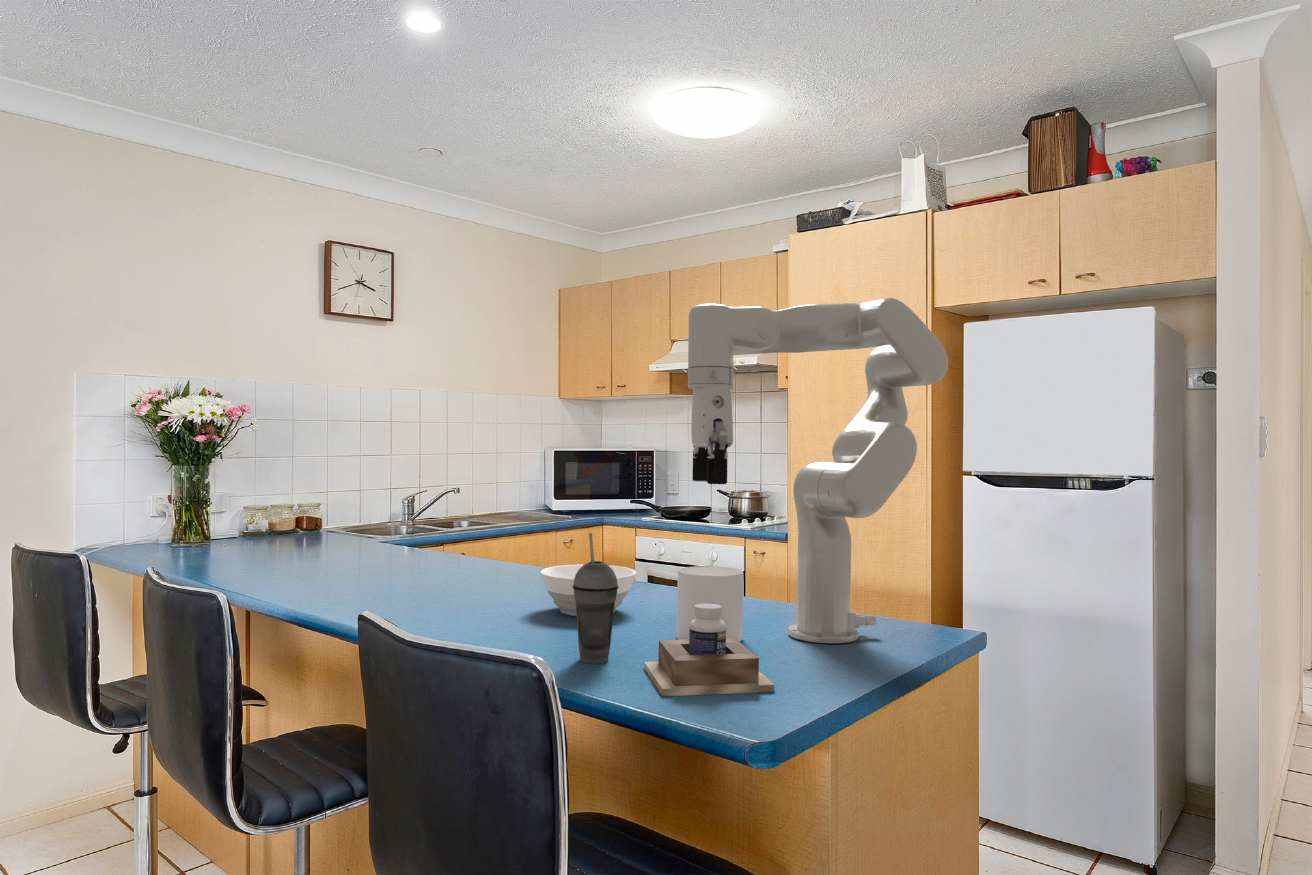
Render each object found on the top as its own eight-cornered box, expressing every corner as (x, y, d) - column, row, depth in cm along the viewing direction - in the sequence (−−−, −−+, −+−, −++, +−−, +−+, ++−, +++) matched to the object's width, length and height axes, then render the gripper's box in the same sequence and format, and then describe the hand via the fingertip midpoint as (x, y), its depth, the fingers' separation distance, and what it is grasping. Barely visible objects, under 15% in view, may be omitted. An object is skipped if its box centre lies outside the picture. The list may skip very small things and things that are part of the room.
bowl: (633, 623, 157) (634, 580, 157) (532, 621, 157) (533, 578, 158) (637, 603, 177) (637, 565, 177) (547, 601, 177) (547, 563, 177)
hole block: (744, 664, 129) (745, 636, 129) (774, 691, 115) (774, 659, 115) (644, 668, 126) (644, 638, 126) (662, 696, 112) (662, 663, 112)
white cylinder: (685, 647, 139) (686, 576, 139) (670, 631, 151) (671, 566, 151) (751, 645, 142) (752, 575, 142) (731, 629, 153) (732, 565, 153)
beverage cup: (599, 668, 125) (601, 537, 125) (561, 660, 129) (564, 533, 129) (626, 658, 131) (628, 533, 131) (589, 651, 135) (591, 529, 135)
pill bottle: (723, 678, 117) (724, 610, 117) (685, 675, 118) (687, 608, 118) (727, 668, 123) (728, 603, 123) (691, 666, 124) (692, 601, 124)
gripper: (747, 376, 129) (746, 485, 129) (718, 383, 146) (716, 480, 146) (701, 375, 128) (700, 485, 128) (676, 382, 145) (675, 479, 144)
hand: (709, 482), depth 137 cm, fingers open, 9 cm apart
